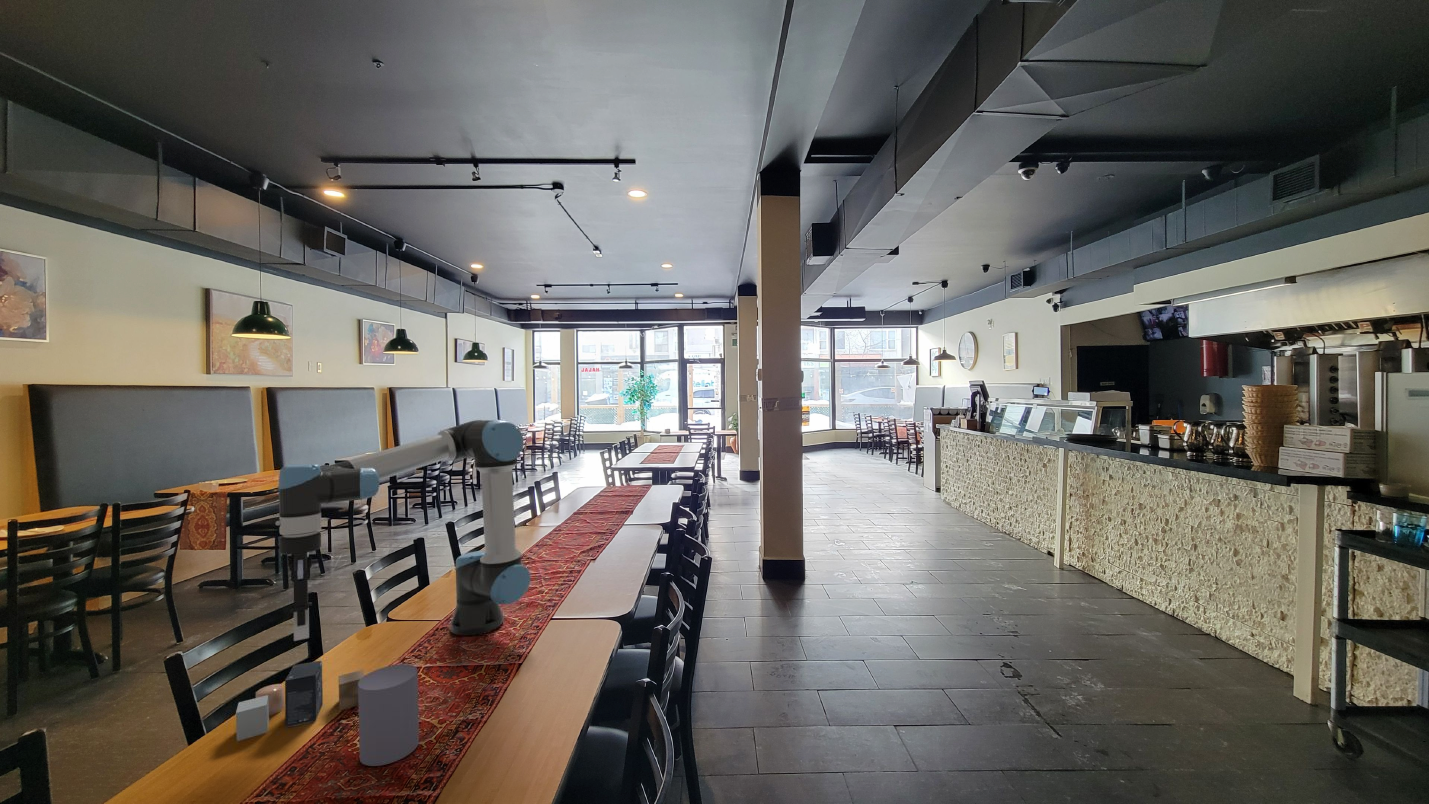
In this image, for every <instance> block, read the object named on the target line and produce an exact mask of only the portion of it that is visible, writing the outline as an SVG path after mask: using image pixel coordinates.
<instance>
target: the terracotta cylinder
mask: <svg viewBox="0 0 1429 804" xmlns="http://www.w3.org/2000/svg"><path fill="white" fill-rule="evenodd" d="M284 685H285V684H283V683H282V684H281V683H276V684H271V685H270V684H269V685H266V686H264V687H262V688H259V689H258V690H257V691H255V698H258V697H262V696H266V695H268V703H269V717H272V716H274V715H277V714H279V713H281V712H282V711H283V710H285V686H284Z"/></svg>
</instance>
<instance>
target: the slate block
mask: <svg viewBox="0 0 1429 804" xmlns="http://www.w3.org/2000/svg"><path fill="white" fill-rule="evenodd" d="M269 724H270V716H269V703H268V695H266V696H262V697H258V698H256V697H255V698H251V699H247V700H243V701H239V702H238V704H237V708H236V711H235V725H236V726H235V727H236V728H235V730H236V732H235V733H236V742H239V741H242V740H245V739H249V738H252V737H255V736H260V735H263V734H267V733H268V731H269Z"/></svg>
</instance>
